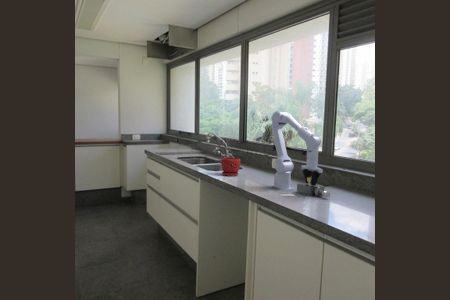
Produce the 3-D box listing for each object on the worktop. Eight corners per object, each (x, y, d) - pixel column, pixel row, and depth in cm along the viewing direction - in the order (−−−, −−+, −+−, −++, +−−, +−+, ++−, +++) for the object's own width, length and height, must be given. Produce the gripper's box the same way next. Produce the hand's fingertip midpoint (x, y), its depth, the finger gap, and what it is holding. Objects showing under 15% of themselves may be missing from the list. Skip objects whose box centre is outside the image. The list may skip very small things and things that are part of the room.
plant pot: (237, 177, 214) (237, 159, 213) (218, 175, 218) (219, 158, 217) (242, 174, 227) (242, 157, 226) (224, 173, 231) (225, 156, 230)
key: (310, 189, 172) (311, 176, 172) (314, 190, 170) (314, 177, 169) (306, 189, 171) (307, 177, 170) (309, 191, 169) (310, 178, 168)
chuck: (296, 192, 173) (297, 183, 173) (311, 191, 177) (311, 182, 177) (320, 200, 157) (320, 190, 156) (335, 199, 161) (335, 189, 161)
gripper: (297, 157, 174) (296, 182, 175) (315, 160, 161) (314, 187, 162) (307, 157, 177) (306, 181, 178) (326, 160, 164) (324, 186, 165)
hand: (310, 184), depth 170 cm, fingers open, 4 cm apart
